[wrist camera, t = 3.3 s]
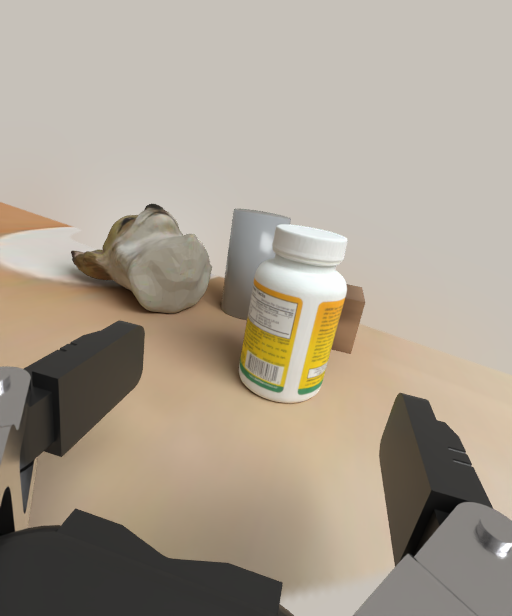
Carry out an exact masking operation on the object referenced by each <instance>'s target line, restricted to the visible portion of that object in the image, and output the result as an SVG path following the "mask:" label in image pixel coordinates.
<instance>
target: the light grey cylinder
mask: <svg viewBox="0 0 512 616" xmlns="http://www.w3.org/2000/svg"><path fill="white" fill-rule="evenodd" d="M290 221H291V219H290V218H288V217H285V216H281V215H277V214H273V213H267V212H261V211H256V210H247V209H234V213H233V220H232V228H231V236H230V243H229V250H228V257H227V265H226V272H225V280H224V287H223V295H222V302H221V309H222V310H223V311H224V312H225V313H227V314H228V315H230V316H233V317H236V318H240V319H244V320H247V318H248V312H249V306H250V300H251V294H252V289H253V283H254V278H255V273H256V270H257V268H258V267H259V266H260V264H262V263H263V262H264V261H266V260H268V259H272V258H275V254H276V253H275V252H274V251H273V246H272V243H273V240H274V235H275V230H276V226H277V225H280V224H289V225H290Z"/></svg>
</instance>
